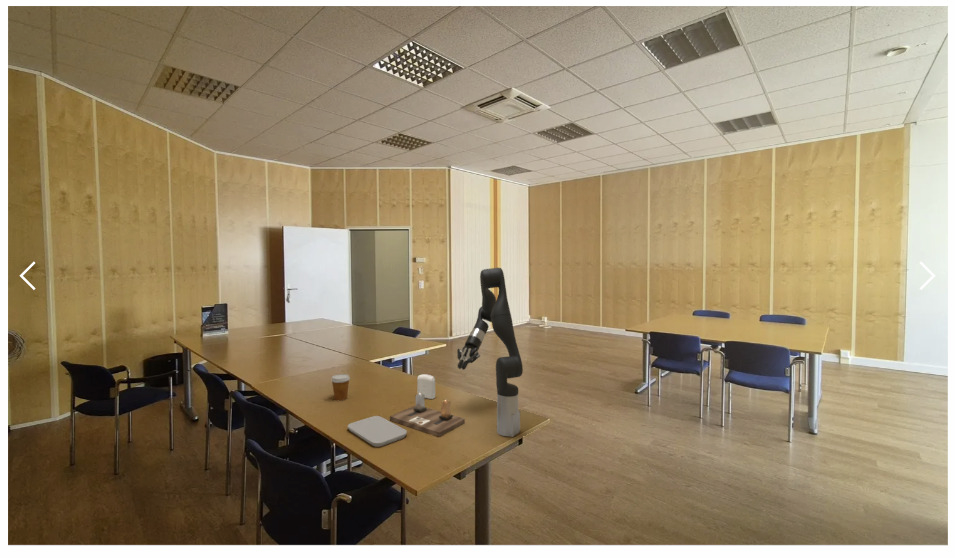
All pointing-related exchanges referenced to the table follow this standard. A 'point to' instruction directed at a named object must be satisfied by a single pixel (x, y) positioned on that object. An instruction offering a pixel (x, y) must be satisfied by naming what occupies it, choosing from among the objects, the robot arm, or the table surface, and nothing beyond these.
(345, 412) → the table surface
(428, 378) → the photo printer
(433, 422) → the switch board
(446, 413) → the copper switch
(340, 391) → the disposable coffee cup
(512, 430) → the robot arm
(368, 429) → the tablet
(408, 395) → the table surface
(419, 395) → the grey switch
